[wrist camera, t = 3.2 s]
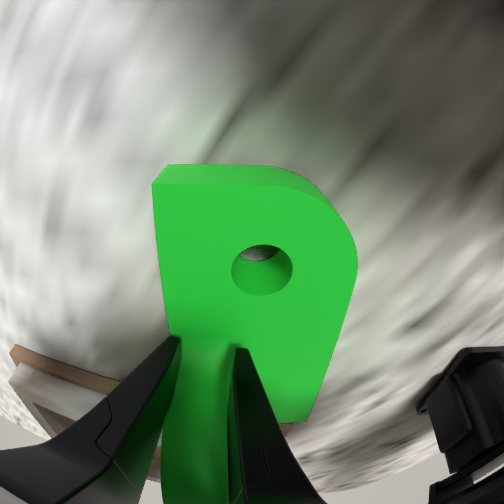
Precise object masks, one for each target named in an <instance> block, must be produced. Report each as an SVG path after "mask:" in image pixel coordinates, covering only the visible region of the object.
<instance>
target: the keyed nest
mask: <svg viewBox="0 0 504 504" xmlns="http://www.w3.org/2000/svg"><path fill="white" fill-rule="evenodd" d="M9 354H10V356H11V358H12V359H13V361H14V363H15V365H16V366H17V368H16V370H15V372H14V373H13V375H12V377H11V378H10V380H9V383H10V385H11V386H12V388H13V389H14V391H15V392H16V394H17V395H18V396H19V398H20V399H21V400H22V402H23V403H24V405H25V406H26V407H27V409H28V410H29V411H30V412H31V414H32V415H33V416H34V418H35V419H36V420H37V421H38V422H39V424H40V425H41V426H42V427H43V429H44V430H45V431H46V432H47V433H48V434H49V436H50V437H51V438H53V437H55V436H56V435H58V434H59V433H60V432H62V431H63V430H65V429H66V428H67V427H69V426H70V425H72V424H73V423H74V422H76V421H77V420H79V419H80V418H81V417H82V416H84V415H85V414H86V413H88V412H89V411H90V410H91V409H92V408H93V407H94V406H96V405H97V404H98V403H99V402H100V401H101V400H102V399H103V398H104V397H107V394H108V393H110V392H111V391H112V390H113V389H114V388H115V387H116V386H117V385H118V384H119V383H120V382H119V381H116V380H112V379H109V378H106V377H102V376H99V375H96V374H93V373H90V372H87V371H83V370H80V369H78V368H75V367H72V366H69V365H66V364H63V363H61V362H58V361H55V360H53V359H50V358H47V357H45V356H42V355H40V354H37V353H35V352H33V351H30V350H28V349H26V348H23V347H21V346H19V345H16V344H15V345H14V347H13V348H12V350H11V351H10V353H9ZM279 425H280V429H281V430H282V432H283V435H284V437H286V435H287V433H288V432H289V430H290V428H291V426H292V425H293V422H291V423H279ZM162 431H163V429H162ZM161 440H162V432H161V435H160V438H159V441H158V444H157V447H156V450H155V453H154V456H153V459H152V462H151V465H150V468H149V471H148V474H147V478H146V479H148V480H151V481H155V482H159V483H161V476H160V454H161Z"/></svg>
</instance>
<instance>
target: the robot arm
mask: <svg viewBox="0 0 504 504" xmlns="http://www.w3.org/2000/svg"><path fill="white" fill-rule="evenodd" d="M181 357H182V340H181V338H180V337H176V336H168V337H167V338H166V339H165V340H164V341H163V342H162V343H161V344H160V345H159V346H158V347H157V348H156V349H155V350H154V351H153V352H152V353H150V354H149V355H148V356H147V357H146V358H145V359H144V360H143V361H142V362H141V363H140V364H139V365H138V366H137V367H136V368H135V369H134V370H133V371H132V372H131V373H129V374H128V375H127V376H126V377H125V378H124V379H123V380H122V381H121V382H120V383H119V384H118V385H117V386H116V387H115V388H114V389H113V390H112V391H111V392H110V393H108V394H107V397H104V398H103V399H102V400H101V401H100V402H99V403H98V404H97V405H96V406H94V407H93V408H92V409H91V410H90V411H89V412H88V413H86V414H85V415H84V416H82V417H81V418H80V419H79V420H77V421H76V422H74V423H73V424H72V425H70V426H69V427H67V428H66V429H65V430H63V431H62V432H60V433H59V434H58V435H56V436H55V437H53V438H52V439H50V440H48V441H46V442H44V443H42V444H38V445H33V446H27V447H21V448H14V449H7V450H0V504H138V503H139V500H140V497H141V496H140V495H141V493H142V490H143V487H144V484H145V481H146V478H147V474H148V471H149V468H150V465H151V462H152V459H153V456H154V453H155V450H156V447H157V444H158V441H159V438H160V435H161V432H162V429H163V423H164V418H165V416H166V414H167V412H168V409H169V407H170V405H171V402H172V399H173V395H174V391H175V386H176V381H177V377H178V372H179V367H180V362H181ZM416 412H417V414H418V415H422V414H429V415H430V418H431V422H432V425H433V428H434V432H435V435H436V439H437V442H438V446H439V450H440V452H441V453H445V457H446V460H447V464H448V468H449V472H450V474H452V473H455V472H457V473H455V474H453V475H452V476H450V477H448V478H446V479H444V480H442V481H439V482H436V483H434V484H432V485H430V489H429V503H428V504H504V467H502V468H501V469H499V470H498V471H496V472H495V473H493V474H491V475H490V476H488V477H486V478H485V479H483V480H481V481H479V482H478V483H476V484H474V483H473V482H474V481H475V480H477V479H479V478H481V477H482V476H484V475H486V474H487V473H489V472H491V471H492V470H494V469H495V468H497V467H498V466H500V465H501V464H503V463H504V347H482V348H467V349H465V350H464V351H463V352H462V353H461V354H460V355H459V357H458V358H457V359H456V361H455V362H454V363H453V364H452V366H451V367H450V368H449V370H448V371H447V372H446V373H445V375H444V376H443V377H442V378H441V380H440V381H439V382H438V383H437V384H436V386H435V387H434V388H433V389H432V390H431V392H430V393H429V394H428V395H427V396H426V397H425V398H424V400H423V401H422V402H421V403H420V404H419V405H418V406H417V407H416ZM227 445H228V502H229V504H327V503H326V502H325V501H324V500H323V499H322V498H321V497H320V496H319V494H318V493H317V491H316V490H315V489H314V487H313V485H312V484H311V482H310V481H309V479H308V478H307V476H306V475H305V473H304V472H303V470H302V468H301V467H300V465H299V464H298V462H297V460H296V459H295V457H294V455H293V453H292V452H291V450H290V448H289V445H288V443H287V441H286V439H285V437H284V435H283V432H282V430H281V429H280V425H279V423H278V421H277V418H276V416H275V414H274V411H273V409H272V406H271V404H270V401H269V399H268V397H267V394H266V392H265V389H264V387H263V384H262V382H261V379H260V377H259V374H258V372H257V369H256V367H255V364H254V362H253V359H252V357H251V354H250V352H249V350H248V349H247V348H242V347H236V349H235V355H234V361H233V368H232V375H231V382H230V389H229V396H228V405H227Z"/></svg>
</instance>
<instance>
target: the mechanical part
mask: <svg viewBox="0 0 504 504" xmlns="http://www.w3.org/2000/svg"><path fill="white" fill-rule="evenodd" d="M152 196H153V209H154V220H155V230H156V240H157V249H158V258H159V266H160V273H161V281H162V288H163V295H164V301H165V308H166V314H167V320H168V326H169V332H170V336H176V337H180V338H181V340H182V357H181V362H180V367H179V372H178V377H177V381H176V386H175V391H174V395H173V399H172V402H171V405H170V407H169V409H168V412H167V414H166V416H165V418H164V423H163V431H162V440H161V454H160V476H161V490H162V497H163V503H164V504H229V502H228V445H227V405H228V396H229V389H230V382H231V375H232V368H233V361H234V355H235V349H236V347H242V348H247V349H248V350H249V352H250V354H251V357H252V359H253V362H254V364H255V367H256V369H257V372H258V374H259V377H260V379H261V382H262V384H263V387H264V389H265V392H266V394H267V397H268V399H269V401H270V404H271V406H272V409H273V411H274V414H275V416H276V418H277V421H278V423H291V422H305V421H307V419H308V416H309V414H310V411H311V409H312V407H313V404H314V402H315V399H316V397H317V394H318V392H319V389H320V387H321V384H322V381H323V379H324V376H325V373H326V371H327V368H328V365H329V362H330V360H331V357H332V354H333V351H334V348H335V345H336V343H337V340H338V337H339V334H340V331H341V328H342V324H343V321H344V318H345V315H346V312H347V309H348V305H349V302H350V299H351V295H352V292H353V288H354V285H355V281H356V277H357V269H358V257H357V251H356V246H355V243H354V240H353V238H352V235H351V233H350V231H349V229H348V228H347V226H346V224H345V223H344V222H343V220H342V219H341V217H340V216H339V215H338V213H337V212H336V210H335V209H334V208H333V206H332V205H331V203H330V202H329V201H328V199H327V198H326V197H325V196H324V194H323V193H322V192H321V191H320V190H319V189H318V188H317V187H316V186H315V185H313V184H312V183H311V182H309V181H308V180H307V179H305V178H303V177H301V176H300V175H297V174H295V173H293V172H291V171H288V170H284V169H281V168H276V167H270V166H255V165H219V164H172V165H167V166H166V167H165V168H164V169H163V171H162V172H161V173H160V174H159V176H158V177H157V178H156V179H155V180H154V182H153V183H152ZM262 244H265V245H272V246H275V247H278V248H280V250H279V251H278V252H277V253H276V254H275V255H274V256H273V257H271V258H269V259H267V260H263V261H251V260H247V259H245V258H243V257H241V256H240V255H239V253H241V252H242V251H243V250H245V249H247V248H249V247H251V246H255V245H262Z"/></svg>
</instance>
